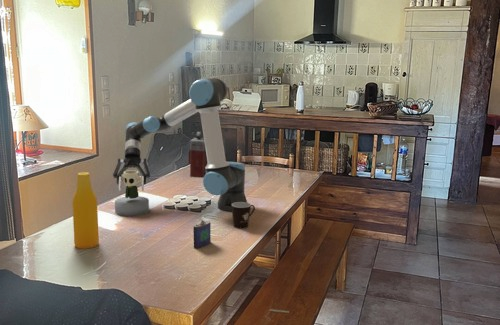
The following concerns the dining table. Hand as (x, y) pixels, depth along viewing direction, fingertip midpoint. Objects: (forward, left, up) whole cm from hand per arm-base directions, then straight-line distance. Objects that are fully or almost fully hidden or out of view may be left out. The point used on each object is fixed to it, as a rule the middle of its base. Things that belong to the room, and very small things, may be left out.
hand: (131, 189), depth 230 cm
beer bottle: (-32, +27, -12) cm, 44 cm away
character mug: (+3, -1, -5) cm, 6 cm away
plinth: (+3, -1, -11) cm, 12 cm away
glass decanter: (+57, -58, -12) cm, 82 cm away
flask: (-52, -14, -12) cm, 55 cm away
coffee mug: (-39, -40, -12) cm, 57 cm away
